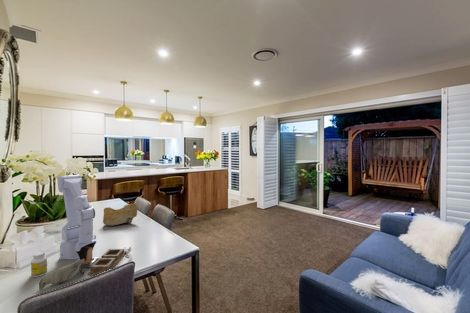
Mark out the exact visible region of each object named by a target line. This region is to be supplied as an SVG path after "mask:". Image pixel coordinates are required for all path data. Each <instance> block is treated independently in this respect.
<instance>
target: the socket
mask: <svg viewBox="0 0 470 313" xmlns="http://www.w3.org/2000/svg"><path fill="white" fill-rule="evenodd" d="M98 259H99V256H94V257H93V256H92V261H91V262H90V263H89V264H81V265H80V268H79V270H83V269H84V270H86V269H87V270H88V269H89V270H90V266H91V265H92V264H94V263H95V262H96V261H97V260H98ZM82 268H83V269H82Z"/></svg>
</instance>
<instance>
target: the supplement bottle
mask: <svg viewBox="0 0 470 313" xmlns="http://www.w3.org/2000/svg"><path fill="white" fill-rule="evenodd" d="M45 253H46V252H45V251H43V250H42V251H37V252H34V253H33V255H32V259H31V261H30V267H31V269H30V270H31V271H30V272H31V273H30V274H31V277H34V278H38V277H43V276H44V275H45V274H47V273H48V260H47V259H48V257H47V256H46V254H45Z"/></svg>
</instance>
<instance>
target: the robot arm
mask: <svg viewBox="0 0 470 313" xmlns="http://www.w3.org/2000/svg"><path fill="white" fill-rule="evenodd" d="M82 183H83V177H82V175H81V174H68V175H59V176H58V178H57V189H58V192H59V193H62V195H63V201H64V207H65V213H66V220H67V223H66V224H64V225H63V226H62V228H61V239H62V241H61V243H60V245H59V257H58V260H79V258H80V260H81V259H84V260H85V261H86V257H87V252H88V249H89V248H86V247H92V252H94V251H93V250H94V247H95V245H96V244H97V241H96V239H97V235H96V234H93V233H94V218H95V217H96V210H95V208H94V207H93V206H92V205H91V204H90V202H89V200H88V198H87V197H86V195H85V196H84V194H83V190H82Z"/></svg>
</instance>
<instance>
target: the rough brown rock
mask: <svg viewBox="0 0 470 313" xmlns="http://www.w3.org/2000/svg"><path fill="white" fill-rule="evenodd" d="M137 215H138V206H137V204H136V203H131V204H130V203H129V204H125V205H124V206H123V207H121V208H120V209H119V208H118V209H115V208H112V207H109V206H108V207H104V208H103V219H102V224H103V225H106V226H107V227H110V226H111V227H113V226H117V225H123V224H131V223H132V222H133V220H134V219H135V218H136V217H137Z"/></svg>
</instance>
